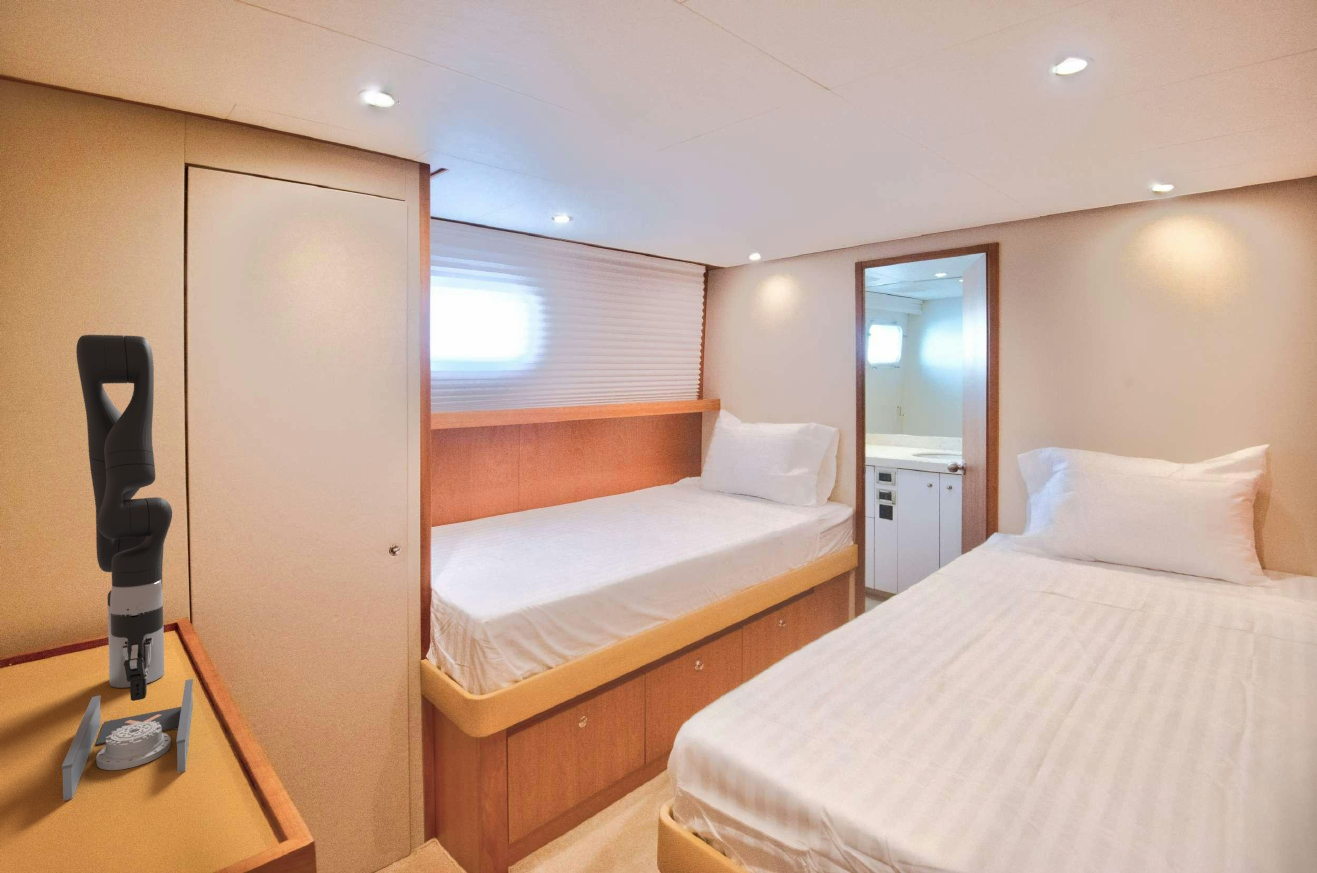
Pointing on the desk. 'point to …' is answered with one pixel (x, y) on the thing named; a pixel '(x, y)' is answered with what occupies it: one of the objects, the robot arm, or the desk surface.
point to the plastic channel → (89, 730)
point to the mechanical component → (133, 746)
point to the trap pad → (164, 717)
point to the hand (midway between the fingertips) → (138, 698)
